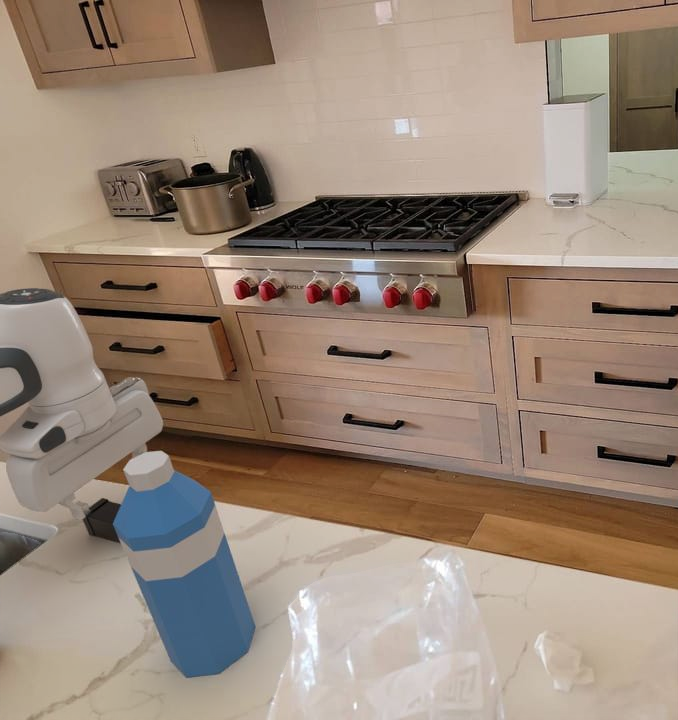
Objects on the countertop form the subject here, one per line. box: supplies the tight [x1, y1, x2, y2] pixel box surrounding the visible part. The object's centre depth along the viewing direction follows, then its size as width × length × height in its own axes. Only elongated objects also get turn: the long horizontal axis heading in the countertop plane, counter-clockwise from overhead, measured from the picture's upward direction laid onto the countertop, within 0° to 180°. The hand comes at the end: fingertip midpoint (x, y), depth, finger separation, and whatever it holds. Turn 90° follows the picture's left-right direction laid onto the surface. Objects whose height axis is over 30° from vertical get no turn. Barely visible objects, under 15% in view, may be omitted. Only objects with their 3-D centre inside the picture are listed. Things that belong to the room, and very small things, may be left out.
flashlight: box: [82, 497, 122, 544], centre depth 95 cm, size 12×4×4 cm, turn 67°
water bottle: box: [113, 450, 256, 679], centre depth 72 cm, size 9×9×25 cm
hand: (112, 494), depth 93 cm, fingers open, 8 cm apart
